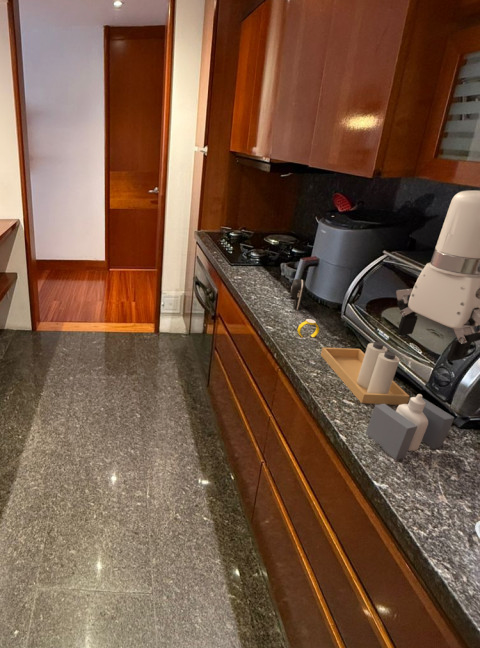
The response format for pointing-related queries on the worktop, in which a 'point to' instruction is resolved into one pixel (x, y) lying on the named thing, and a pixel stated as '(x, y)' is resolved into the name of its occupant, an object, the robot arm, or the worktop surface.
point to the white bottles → (377, 369)
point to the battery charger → (297, 292)
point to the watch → (311, 322)
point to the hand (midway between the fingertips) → (428, 345)
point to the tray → (348, 370)
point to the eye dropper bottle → (415, 418)
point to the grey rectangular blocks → (407, 429)
